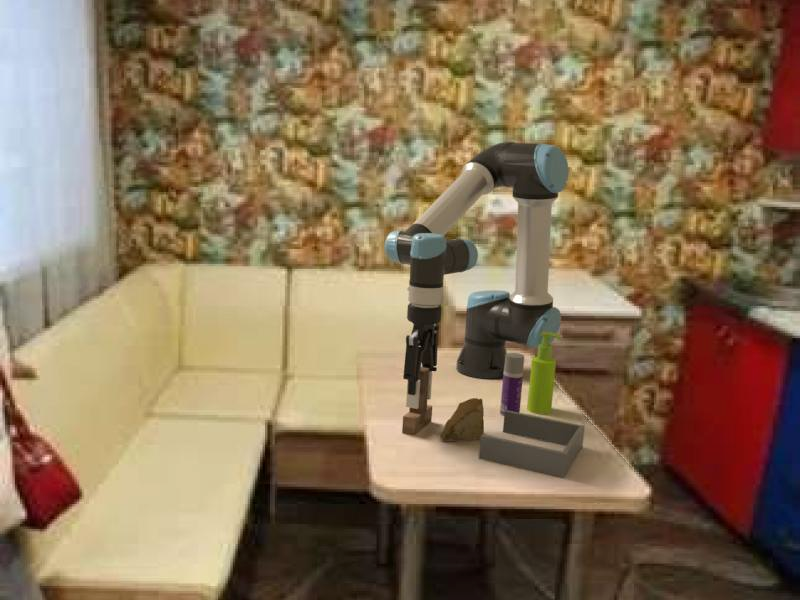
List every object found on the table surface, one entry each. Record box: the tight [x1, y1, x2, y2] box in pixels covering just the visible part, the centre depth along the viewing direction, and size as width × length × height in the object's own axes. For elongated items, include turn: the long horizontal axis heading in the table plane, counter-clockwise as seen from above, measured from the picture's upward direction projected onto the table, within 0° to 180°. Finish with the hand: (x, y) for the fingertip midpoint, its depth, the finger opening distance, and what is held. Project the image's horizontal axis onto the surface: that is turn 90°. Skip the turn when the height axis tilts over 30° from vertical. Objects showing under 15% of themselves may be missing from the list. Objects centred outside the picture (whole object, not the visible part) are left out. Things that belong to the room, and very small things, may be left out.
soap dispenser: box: [526, 331, 564, 415], centre depth 194 cm, size 6×7×20 cm
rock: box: [439, 397, 485, 442], centre depth 176 cm, size 11×9×10 cm
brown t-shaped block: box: [401, 366, 433, 437], centre depth 179 cm, size 10×3×14 cm, turn 155°
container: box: [499, 352, 525, 417], centre depth 191 cm, size 5×5×15 cm
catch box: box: [478, 410, 586, 478], centre depth 170 cm, size 18×18×5 cm
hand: (418, 402), depth 180 cm, fingers open, 6 cm apart
